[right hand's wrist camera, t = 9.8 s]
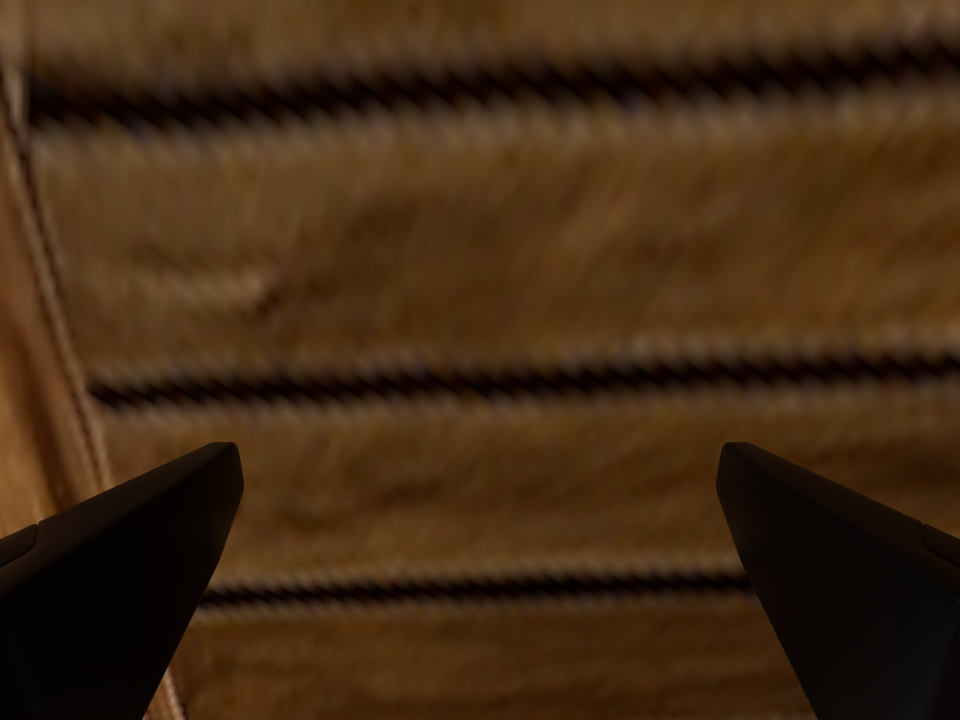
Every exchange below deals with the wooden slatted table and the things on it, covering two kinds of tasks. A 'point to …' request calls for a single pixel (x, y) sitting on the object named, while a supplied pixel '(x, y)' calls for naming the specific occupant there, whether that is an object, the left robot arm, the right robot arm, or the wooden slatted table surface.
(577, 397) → the wooden slatted table surface
